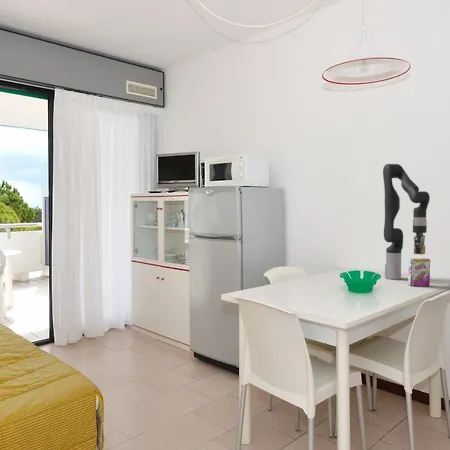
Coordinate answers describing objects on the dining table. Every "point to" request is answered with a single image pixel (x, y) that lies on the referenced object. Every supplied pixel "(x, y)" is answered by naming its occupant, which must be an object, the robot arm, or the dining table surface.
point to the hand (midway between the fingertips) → (419, 252)
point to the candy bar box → (419, 272)
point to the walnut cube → (422, 249)
